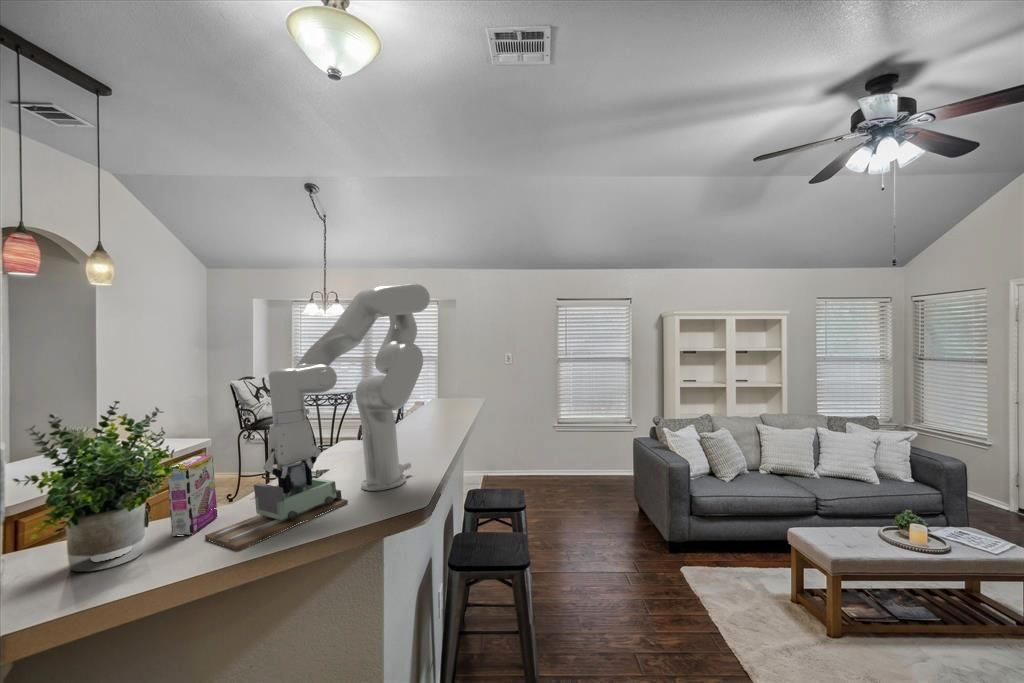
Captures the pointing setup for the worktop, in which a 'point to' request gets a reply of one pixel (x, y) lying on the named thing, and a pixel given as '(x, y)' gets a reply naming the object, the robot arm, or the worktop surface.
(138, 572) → the worktop surface
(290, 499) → the toy truck
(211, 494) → the candy bar box
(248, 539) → the track
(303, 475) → the metal cylinder
